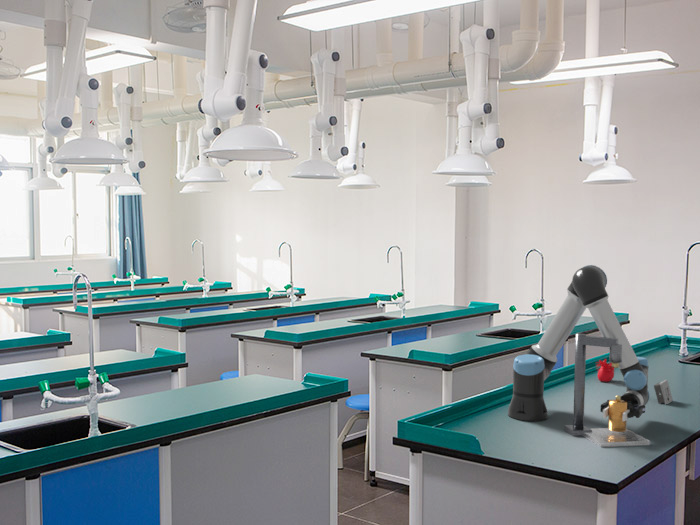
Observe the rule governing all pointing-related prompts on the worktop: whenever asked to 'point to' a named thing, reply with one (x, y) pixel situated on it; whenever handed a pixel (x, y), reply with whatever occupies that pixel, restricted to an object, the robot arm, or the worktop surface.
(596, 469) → the worktop surface
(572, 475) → the worktop surface
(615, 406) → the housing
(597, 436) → the arbor press
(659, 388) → the electrical switch
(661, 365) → the worktop surface
